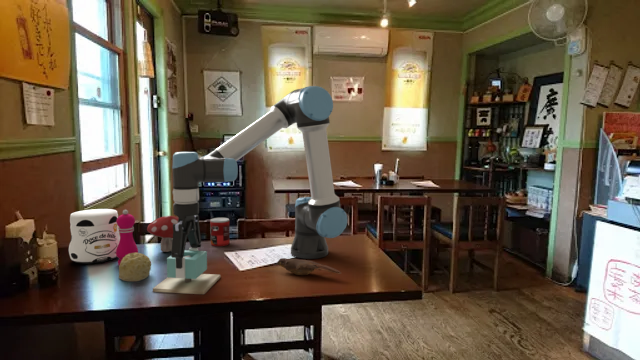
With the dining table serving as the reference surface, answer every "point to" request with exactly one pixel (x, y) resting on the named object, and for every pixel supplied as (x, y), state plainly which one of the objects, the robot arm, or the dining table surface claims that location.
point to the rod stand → (187, 284)
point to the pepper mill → (125, 236)
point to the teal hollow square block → (189, 264)
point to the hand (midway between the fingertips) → (187, 272)
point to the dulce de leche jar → (93, 236)
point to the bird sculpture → (303, 266)
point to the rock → (134, 267)
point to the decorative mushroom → (163, 231)
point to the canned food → (219, 231)
